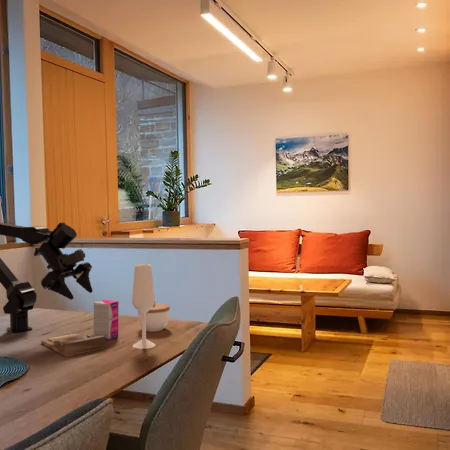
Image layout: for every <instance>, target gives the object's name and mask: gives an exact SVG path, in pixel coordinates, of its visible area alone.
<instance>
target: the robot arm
mask: <svg viewBox="0 0 450 450" xmlns="http://www.w3.org/2000/svg"><path fill="white" fill-rule="evenodd" d="M0 236H3V237H4V236H5V237H11V238H16V239H20V240H21V241H22V242H24V243H26V244H29V245H32V246H33V245H34V246H35V245H39V246H38V247H34V253H33V256H34V257H39V256H41V257H42V258H43V259H44V260H45V262H46V264H47V266H46V268H47V270H51V271H48V272H47V274H45V276H43V278H42V279H41V280H40V285H41V286H42V289H44V290H48V291H51V292H52V291H53V292H54V293H57V294H58V295H61V296H63V297H64V298H67V299H69V300H71V301H72V300H73V299H75V298H74V295H73V293H72V291H71V290H70V289H69V287H68V286H67V284H66V283H65V282H66V280H65V279H67V278H70V277H71V278H72V277H73V279H75V282H76V283H77V284H78V285H80V286H81V287H82V288H83V289H84V290H85V291H86V292H88V293H89V294H91V293H93V291H94V290H93V287H92V284H91V280H90V276H89V275H90V272H91V271H92V269H93V266H92V265H91V263H90V262H88V261H85V258H86V252H84V251H83V249H81V248H79V249H77V250H74V252H72V253H69V254H68V253H63V251H62V250H64V249H66V248H67V247H68V246H69V245H70V244H71V243H72V242H73V240H75V239H76V238H77V232H76V230H75V229H74V228H72V227H71V226H70V225H67V224H66V223H65V222H63V221H62V222H59V223H58V224H57V225H56V227H55V228H54V229H53V230H50V229H49V227H48V226H44V225H40V226H39V225H37V226H22V225H17V224H10V223H4V222H0ZM61 249H62V250H61ZM83 261H85V262H83ZM80 262H81V263H80ZM78 263H79V264H78ZM0 284H1V285H2V287H4V289H5V291H6V293H5V294H6V299H7V302H6V303H5V304H4V306H3V307H2V310H3V313H4V314H5V315H9V327H6V330H7V331H9V332H11V333H19V332H26V331H31V330H33V328H32V327H31V326H29V311H31V310H34V306H35V303H36V302H37V292H36V289H35V288H34V287H33V286H32V285H31V283H30V281H23V282H22V281H20V280H19V279H18V277H16V275H15V274H14V273H13V271H12V270H11V269H10V268H9V266H8V265H7V264H6V262H4V261H3V259H2V258H1V257H0Z"/></svg>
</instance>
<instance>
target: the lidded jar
mask: <svg viewBox="0 0 450 450" xmlns="http://www.w3.org/2000/svg"><path fill="white" fill-rule="evenodd" d="M170 308H171V307H170V305H169V304H166V303H157V302H155V303H154V305H153V307H152V308H151V309H150V310H149V311H148V312H147V313H146V332H150V333H151V332H153V333H154V332H161V331H163V330H164V328H165V327H166V326H167V324H168V323H169V320H170ZM137 318H138V323H139V325H140V326H141V327H142V313H140V312H139V311H138V310H137Z"/></svg>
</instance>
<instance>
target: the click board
mask: <svg viewBox="0 0 450 450" xmlns="http://www.w3.org/2000/svg"><path fill="white" fill-rule="evenodd" d="M93 335H94V334H87V335H83V334H81V333H70V334H66V335H65V334H64V335H61V336H55V337H49V338H47V339H42V340H40V341H41V343H40V344H41V345H43V346H45V347H47V348H49V349H51V350H53V351H55V352H56V353H58V354H61V355H63V356H64V357H71V356H76V355H80V354H85V352H86V353H90V351H91V352H94V351H100V350H104V349H106V340H105V336H103V335H101V336H93Z"/></svg>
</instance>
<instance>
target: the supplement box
mask: <svg viewBox="0 0 450 450" xmlns="http://www.w3.org/2000/svg"><path fill="white" fill-rule="evenodd" d="M119 303H120V302H119V301H118V300H110V299H101V300H99V301H96V302H93V334H92V335H93V336H101V335H103V336H105V341H110V340H112V339H114V338H116V337H119Z"/></svg>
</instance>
